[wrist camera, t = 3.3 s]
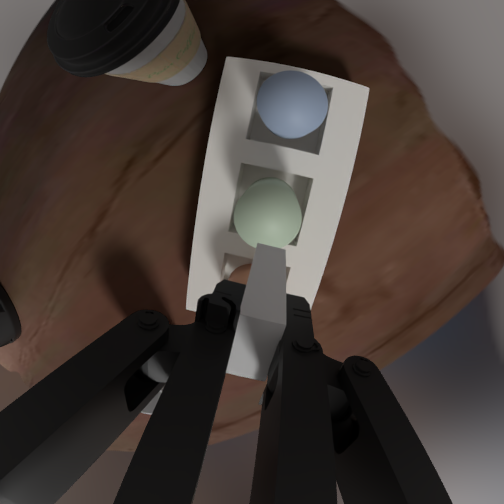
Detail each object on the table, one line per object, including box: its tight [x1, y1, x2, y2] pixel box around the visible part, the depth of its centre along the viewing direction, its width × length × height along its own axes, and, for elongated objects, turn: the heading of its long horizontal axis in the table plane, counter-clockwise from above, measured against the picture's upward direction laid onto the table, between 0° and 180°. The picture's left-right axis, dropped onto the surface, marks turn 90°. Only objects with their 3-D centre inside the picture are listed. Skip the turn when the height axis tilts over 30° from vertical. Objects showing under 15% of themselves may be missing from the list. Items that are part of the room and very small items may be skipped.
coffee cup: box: [47, 0, 207, 86], centre depth 15 cm, size 9×9×15 cm
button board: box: [186, 57, 369, 312], centre depth 24 cm, size 12×24×4 cm, turn 169°
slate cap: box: [257, 70, 328, 139], centre depth 18 cm, size 5×5×5 cm
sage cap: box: [234, 177, 302, 248], centre depth 21 cm, size 5×5×5 cm
